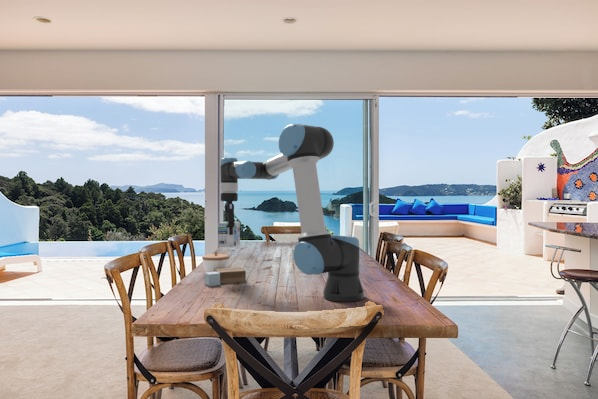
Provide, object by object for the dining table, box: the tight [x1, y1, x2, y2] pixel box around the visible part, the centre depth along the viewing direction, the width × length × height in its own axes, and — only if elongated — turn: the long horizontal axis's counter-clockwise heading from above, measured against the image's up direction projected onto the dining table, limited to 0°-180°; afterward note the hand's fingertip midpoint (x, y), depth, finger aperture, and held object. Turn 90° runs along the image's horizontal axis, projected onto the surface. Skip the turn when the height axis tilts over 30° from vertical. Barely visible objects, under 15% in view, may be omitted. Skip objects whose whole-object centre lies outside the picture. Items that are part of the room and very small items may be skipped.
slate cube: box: [204, 272, 221, 287], centre depth 189 cm, size 5×5×5 cm
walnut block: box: [214, 266, 247, 284], centre depth 199 cm, size 12×12×5 cm
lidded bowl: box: [202, 251, 230, 273], centre depth 211 cm, size 13×13×11 cm
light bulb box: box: [217, 221, 241, 248], centre depth 198 cm, size 11×7×11 cm, turn 168°
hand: (229, 240), depth 198 cm, fingers closed on light bulb box, 12 cm apart
